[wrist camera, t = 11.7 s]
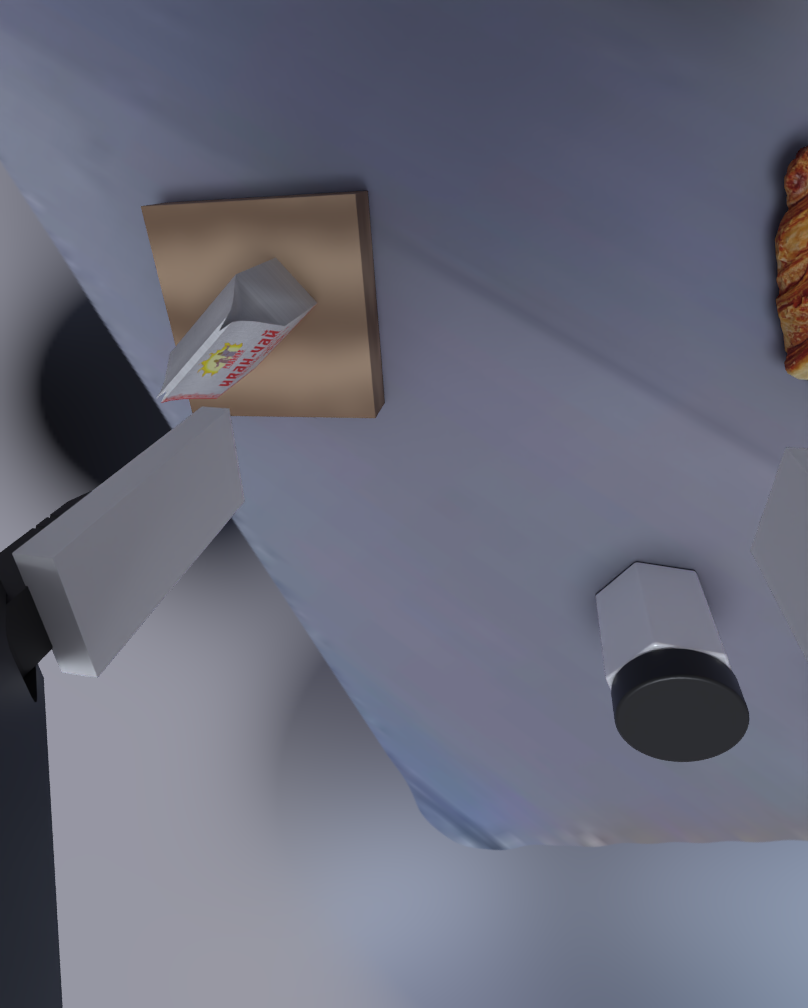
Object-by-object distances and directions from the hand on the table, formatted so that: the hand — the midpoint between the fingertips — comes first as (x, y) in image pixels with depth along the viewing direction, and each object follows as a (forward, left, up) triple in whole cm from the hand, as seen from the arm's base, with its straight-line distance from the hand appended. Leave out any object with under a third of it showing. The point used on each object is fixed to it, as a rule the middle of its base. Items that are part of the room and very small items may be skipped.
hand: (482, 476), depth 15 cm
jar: (+26, +12, -28) cm, 40 cm away
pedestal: (+2, -16, -28) cm, 33 cm away
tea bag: (+2, -16, -25) cm, 30 cm away
